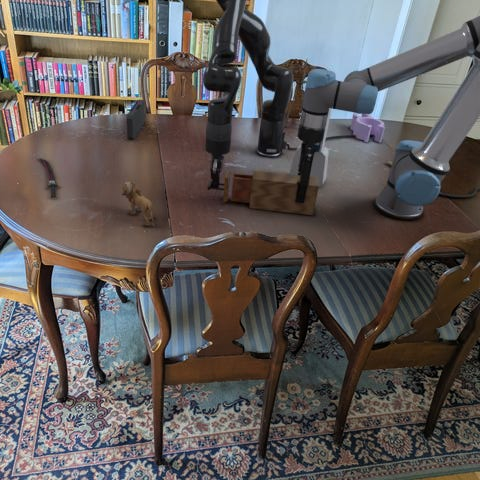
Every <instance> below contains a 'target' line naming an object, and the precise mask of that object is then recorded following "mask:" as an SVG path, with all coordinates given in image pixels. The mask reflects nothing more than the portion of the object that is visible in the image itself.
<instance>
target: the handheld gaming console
mask: <svg viewBox="0 0 480 480" xmlns="http://www.w3.org/2000/svg"><path fill="white" fill-rule="evenodd" d="M145 122H146V102H145V99H141V98H140V99H138V100H137V101H136V102H135V103H134V104H133V106H131V108H130V109H129V111H128V113H127V114H126V137H127V139H128V140H134V139H135V138H136V136H138V133H139V132H140V131H141V129H142V127H143V126H144V124H145Z"/></svg>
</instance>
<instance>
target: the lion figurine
mask: <svg viewBox="0 0 480 480" xmlns="http://www.w3.org/2000/svg"><path fill="white" fill-rule="evenodd" d="M119 193H120V194H121V196H122V197H124V196H125V198H126V199H127V200H128V202H129V203H130V207H131V211H130V212H129V213H130V215H135V214H136V211H137V212H141V214H142V216H143V218H144V219H145V223H144V225H145V227H149V226H150V221H152V223H153V225H155V226H159V222H156V221H155V219H154V217H153V216H154V215H153V204H152V202H151V200H150V199H148V198H146V197H145V196H144V195H143V194H142V192H141V190H140V187H138V185H136V184H135V183H133V182H132V181H125V182H124V186H122V188H121V189H119ZM136 207H137V208H136ZM148 214H149V216H148Z"/></svg>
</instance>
